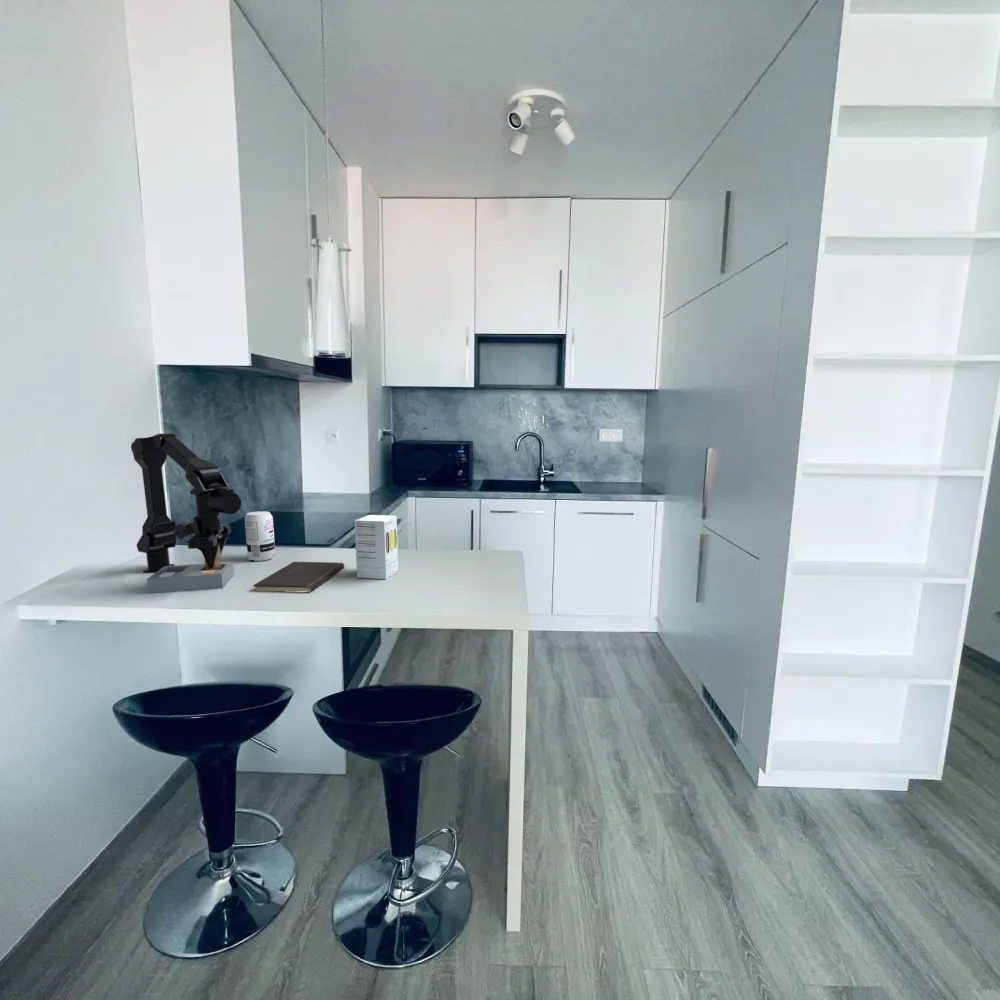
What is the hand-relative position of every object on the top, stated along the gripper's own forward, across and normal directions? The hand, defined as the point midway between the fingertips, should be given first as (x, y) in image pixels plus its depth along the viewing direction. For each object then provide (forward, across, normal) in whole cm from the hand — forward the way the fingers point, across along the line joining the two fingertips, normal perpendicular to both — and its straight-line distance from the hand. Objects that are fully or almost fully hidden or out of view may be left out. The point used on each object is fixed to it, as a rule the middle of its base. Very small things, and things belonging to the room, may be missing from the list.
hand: (213, 565), depth 154 cm
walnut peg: (+2, 0, 0) cm, 2 cm away
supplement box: (+5, +4, +45) cm, 45 cm away
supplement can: (+5, -22, +8) cm, 24 cm away
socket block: (+4, +2, -5) cm, 7 cm away
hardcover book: (+5, +4, +24) cm, 25 cm away
